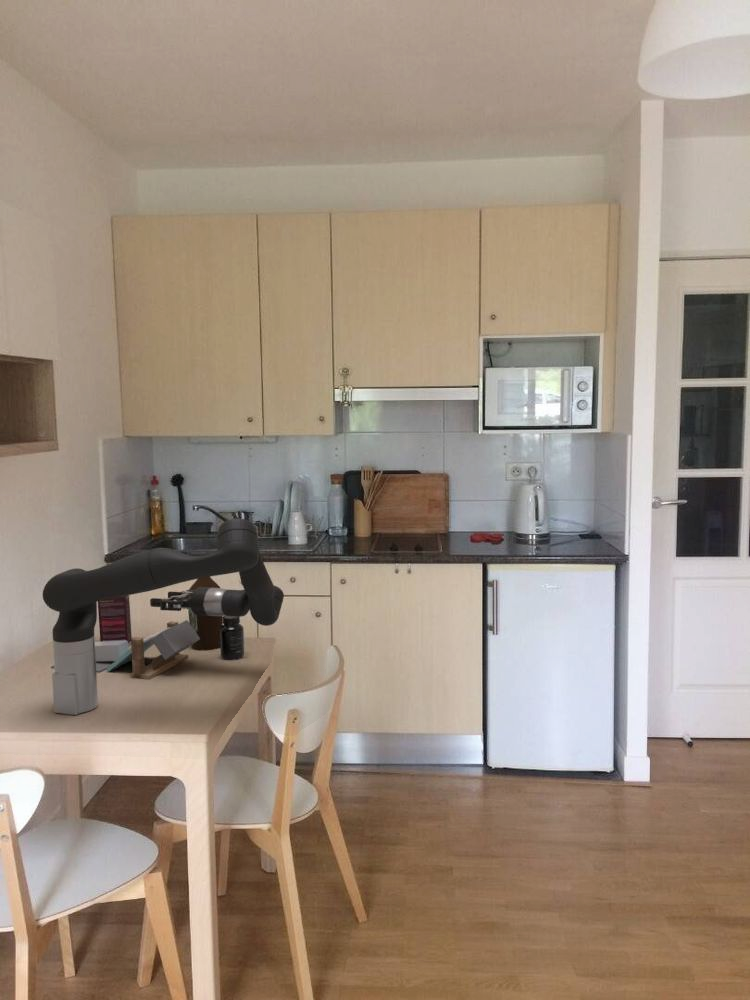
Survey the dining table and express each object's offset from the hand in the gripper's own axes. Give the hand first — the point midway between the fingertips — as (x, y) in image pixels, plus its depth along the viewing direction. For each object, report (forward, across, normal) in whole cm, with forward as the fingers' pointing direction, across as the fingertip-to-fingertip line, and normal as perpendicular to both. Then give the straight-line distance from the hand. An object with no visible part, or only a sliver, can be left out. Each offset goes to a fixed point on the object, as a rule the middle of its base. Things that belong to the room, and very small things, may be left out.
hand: (159, 598), depth 212 cm
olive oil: (-1, -22, +20) cm, 30 cm away
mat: (+23, 0, +20) cm, 30 cm away
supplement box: (+27, -16, +20) cm, 37 cm away
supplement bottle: (-14, -14, +20) cm, 28 cm away
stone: (+12, 0, +16) cm, 20 cm away
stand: (+1, 0, +19) cm, 20 cm away
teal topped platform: (0, 0, +19) cm, 19 cm away
